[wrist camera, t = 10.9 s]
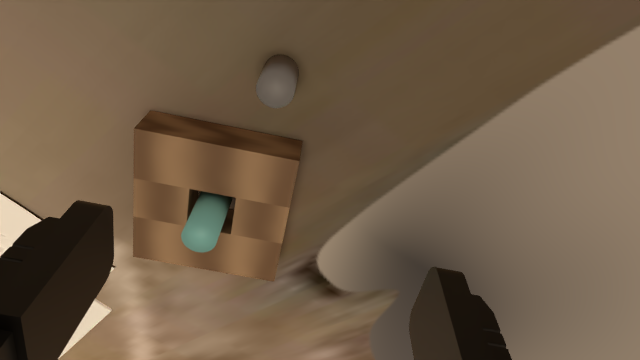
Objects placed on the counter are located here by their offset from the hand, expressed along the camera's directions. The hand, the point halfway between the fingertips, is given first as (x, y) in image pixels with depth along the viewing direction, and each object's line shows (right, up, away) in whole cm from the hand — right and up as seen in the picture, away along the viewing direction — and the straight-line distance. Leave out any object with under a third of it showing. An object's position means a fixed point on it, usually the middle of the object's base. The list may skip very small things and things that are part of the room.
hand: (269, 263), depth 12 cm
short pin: (-2, +11, +28) cm, 31 cm away
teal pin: (-9, +1, +34) cm, 36 cm away
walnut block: (-9, +1, +34) cm, 36 cm away
